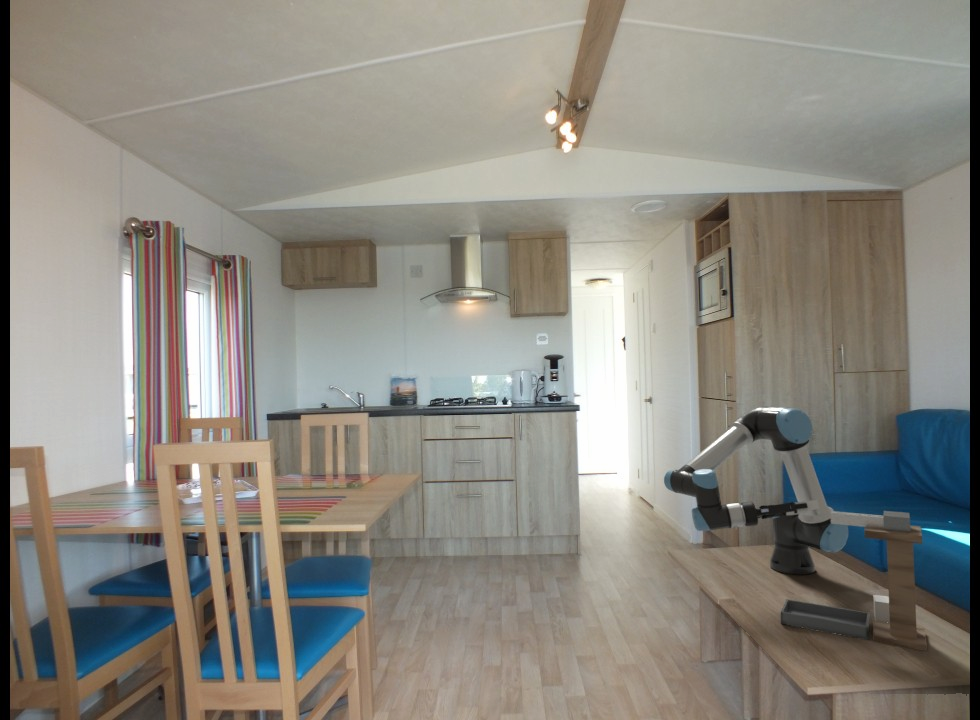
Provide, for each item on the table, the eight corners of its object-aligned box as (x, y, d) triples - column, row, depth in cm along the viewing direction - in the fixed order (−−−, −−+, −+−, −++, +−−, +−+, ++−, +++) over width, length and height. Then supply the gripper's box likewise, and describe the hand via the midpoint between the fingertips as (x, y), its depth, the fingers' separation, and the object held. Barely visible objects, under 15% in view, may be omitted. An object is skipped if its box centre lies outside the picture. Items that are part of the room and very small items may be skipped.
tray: (786, 610, 190) (786, 599, 191) (870, 624, 178) (869, 612, 179) (781, 624, 180) (780, 612, 181) (868, 640, 168) (868, 627, 168)
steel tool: (832, 519, 182) (831, 506, 182) (909, 527, 171) (909, 512, 171) (830, 524, 176) (829, 510, 176) (910, 532, 166) (909, 518, 166)
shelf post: (870, 624, 178) (866, 521, 179) (924, 634, 171) (920, 526, 172) (868, 640, 168) (864, 530, 169) (926, 651, 161) (922, 536, 162)
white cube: (897, 617, 183) (896, 597, 183) (899, 625, 178) (899, 604, 178) (873, 614, 186) (873, 594, 186) (875, 621, 181) (874, 601, 181)
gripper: (739, 529, 209) (805, 521, 205) (751, 523, 186) (826, 515, 182) (734, 506, 212) (799, 499, 208) (745, 498, 189) (819, 489, 185)
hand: (812, 506), depth 195 cm, fingers open, 13 cm apart
